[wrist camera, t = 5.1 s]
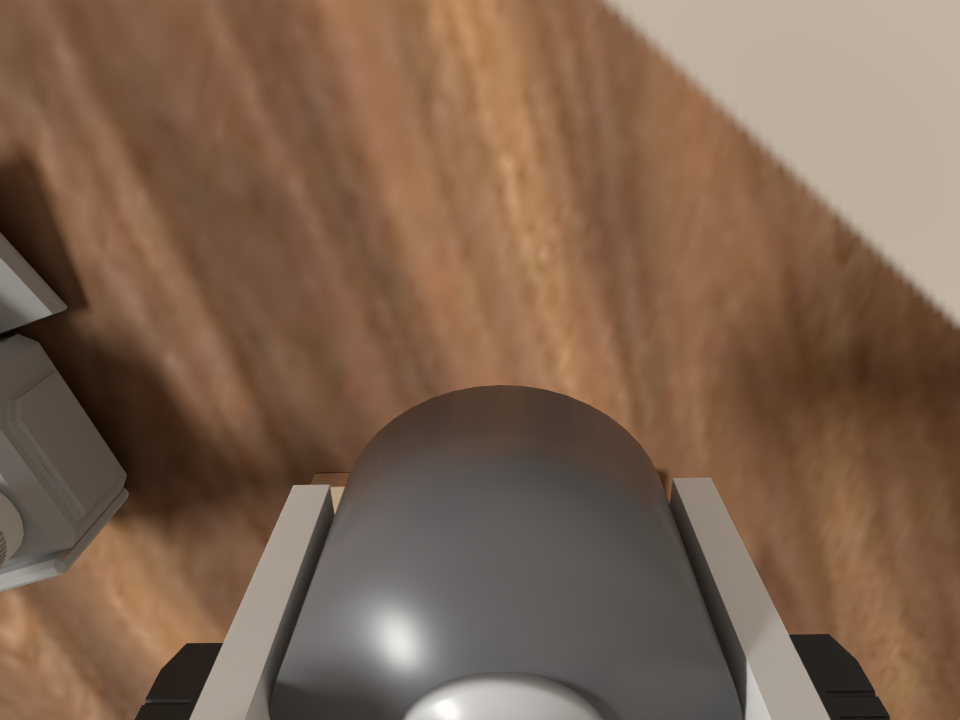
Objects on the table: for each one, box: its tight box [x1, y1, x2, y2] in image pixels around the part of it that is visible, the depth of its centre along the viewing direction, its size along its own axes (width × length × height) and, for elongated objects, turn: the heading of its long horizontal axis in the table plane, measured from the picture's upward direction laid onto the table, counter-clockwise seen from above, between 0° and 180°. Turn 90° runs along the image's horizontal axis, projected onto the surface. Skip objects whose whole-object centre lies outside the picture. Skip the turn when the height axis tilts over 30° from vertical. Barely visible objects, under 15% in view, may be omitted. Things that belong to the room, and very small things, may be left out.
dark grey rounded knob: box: [269, 385, 743, 720], centre depth 12 cm, size 7×7×5 cm
